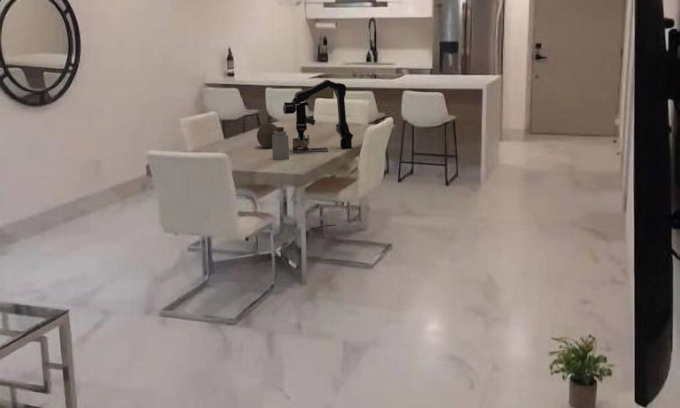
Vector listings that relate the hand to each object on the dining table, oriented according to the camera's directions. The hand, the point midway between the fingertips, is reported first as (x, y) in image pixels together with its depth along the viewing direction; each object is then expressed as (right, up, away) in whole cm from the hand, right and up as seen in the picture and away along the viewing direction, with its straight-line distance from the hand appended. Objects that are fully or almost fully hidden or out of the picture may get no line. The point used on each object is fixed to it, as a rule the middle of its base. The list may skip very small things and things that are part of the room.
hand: (301, 138), depth 452 cm
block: (0, -2, +1) cm, 2 cm away
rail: (+5, -7, +2) cm, 9 cm away
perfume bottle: (-11, -13, -20) cm, 26 cm away
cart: (0, -6, +2) cm, 6 cm away
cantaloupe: (-21, -4, +16) cm, 27 cm away
